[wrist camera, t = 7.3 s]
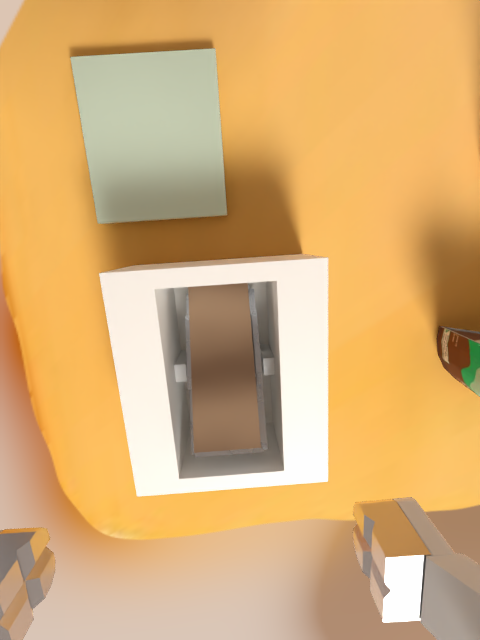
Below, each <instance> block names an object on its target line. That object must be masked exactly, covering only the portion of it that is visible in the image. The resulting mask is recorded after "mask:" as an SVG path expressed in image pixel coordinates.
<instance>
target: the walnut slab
mask: <svg viewBox="0 0 480 640" xmlns="http://www.w3.org/2000/svg"><path fill="white" fill-rule="evenodd" d="M188 297H189V324H190V352H191V380H192V407H193V435H194V453H199V452H212V451H225V450H238V449H251V448H261V439H260V427H259V415H258V403H257V391H256V379H255V367H254V354H253V342H252V330H251V318H250V306H249V294H248V283H238V284H223V285H209V286H194V287H188Z"/></svg>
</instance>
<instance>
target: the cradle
mask: <svg viewBox="0 0 480 640" xmlns="http://www.w3.org/2000/svg"><path fill="white" fill-rule="evenodd" d="M248 294H249V306H250V318H251V330H252V342H253V354H254V367H255V379H256V391H257V403H258V415H259V427H260V439H261V448H251V449H238V450H225V451H212V452H199V453H194V435H193V407H192V380H191V352H190V324H189V297H188V293H187V294H186V305H187V315H185V325H186V355H187V386H188V390H189V393H190V422H191V451H192V455H195V457H208V456H221V455H234V454H247V453H260V452H263V450H266V449H268V445H267V434H266V422H265V411H264V399H263V388H262V385H263V379H262V367H261V356H260V345H259V333H258V322H257V310H256V307H255V296H254V289H250V288H249V285H248Z"/></svg>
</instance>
